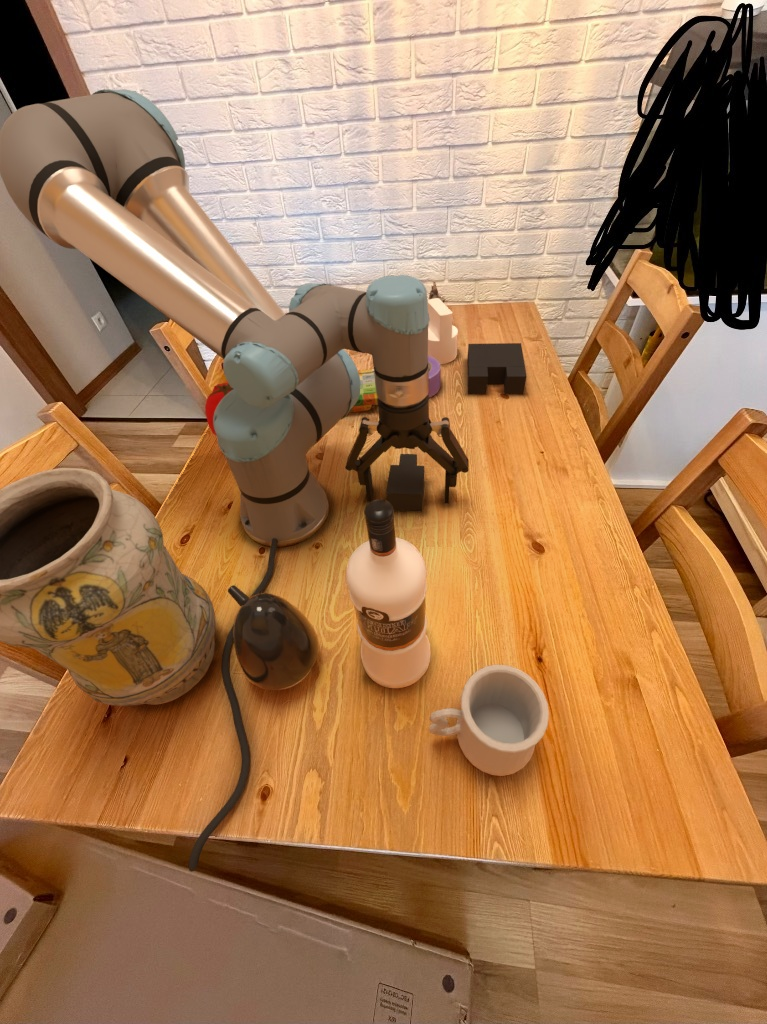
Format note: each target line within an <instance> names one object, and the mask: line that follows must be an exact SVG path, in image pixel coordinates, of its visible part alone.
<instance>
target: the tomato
mask: <svg viewBox="0 0 767 1024" xmlns="http://www.w3.org/2000/svg"><path fill="white" fill-rule="evenodd" d="M233 389H234V388H232V387H231V386H230V385H229V383H228V381H227V382H223V383H222V382H221V383H217V384H216V385H214V386H213V389H212V392H211V393H210V394H209V395H208V396H207V398H206V402H205V407H204V413H205V417H206V421H207V424H208V428H209V429H210V430H211V433H212V434H213V435H214V436H215V437H216V438H217V436H216V433H215V430H214V426H213V416H214V412H215V409H216V407H217V405H218V404H219V402H220V401H221V400H222V399H223V397H224V396H225V395H226V394H228V393H229V392H230V391H232V390H233Z"/></svg>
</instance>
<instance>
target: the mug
mask: <svg viewBox="0 0 767 1024" xmlns="http://www.w3.org/2000/svg"><path fill="white" fill-rule="evenodd" d="M448 718H453V719H457V721H456V724H455V725H453V726H449V724H450V723H449V720H448ZM549 719H550V711H549V703H548V700H547V698H546V695H545V693H544V691H543V689H542V688H541V687H540V685H539V683H538V682H536V680H535V679H533V677H531V676H530V675H529V674H527V673H526V672H524V671H523V670H521V669H519V668H517V667H515V666H511V665H508V664H490V665H485V666H484V667H482V668H480V669H478V670H476V671H475V672H474V673H473V674H472V675H471V676H469V677H468V679H467V680H466V682H465V684H464V686H463V689H462V692H461V696H460V709H458V708H452V707H449V708H448V707H447V708H441V709H438V710H435V711H433V712H431V713H430V716H429V721H430V722H431V724H430V725H429V728H428V731H429V733H430V734H432V735H434V736H438V737H452V736H455V735H456V738H457V741H458V745H459V747H460V750H461V752H462V754H463V755H464V757H465V758H466V759H467V760H468V762H469V763H470V764H471V765H472V766H474V767H475V768H476V769H478V770H479V771H481V772H482V773H485V774H489V775H491V776H498V777H499V776H500V777H504V776H509V775H514V774H515V773H517V772H519V771H521V770H523V769H524V768H525V766H527V764H528V763H529V762H530V761H531V759H532V756H533V755H534V752H535V747H536V746H537V744H538V743H539V742H540V741H541V740H542V739H543V738H544V735H545V733H546V731H547V730H548V726H549Z"/></svg>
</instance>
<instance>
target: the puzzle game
mask: <svg viewBox="0 0 767 1024" xmlns="http://www.w3.org/2000/svg"><path fill="white" fill-rule="evenodd" d="M357 370H358V373H359V376H360V383H361V384H360V395H359V398H358V400H357V402H356V404H355V405H354V406H353V407H352V408H351V409H350V411H349V413H355V412H367V411H370V410H371V409H372V406H374V405H378V404H377V398H378V397H377V394H376V385H375V374H374V368H369V369H357Z"/></svg>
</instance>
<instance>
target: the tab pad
mask: <svg viewBox="0 0 767 1024" xmlns="http://www.w3.org/2000/svg"><path fill="white" fill-rule="evenodd" d="M386 485H387V486H386V491H385V496H386V501H388V502H389V503H391V505H392V506H393V509H394V511H393V512H410V513H411V512H412V513H423V510H424V509H423V507H424V496H425V495H424V494H425V465H418V454H417V453H400V454H399V462H398V464H390V466H389V473H388V479H387V484H386Z"/></svg>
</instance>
